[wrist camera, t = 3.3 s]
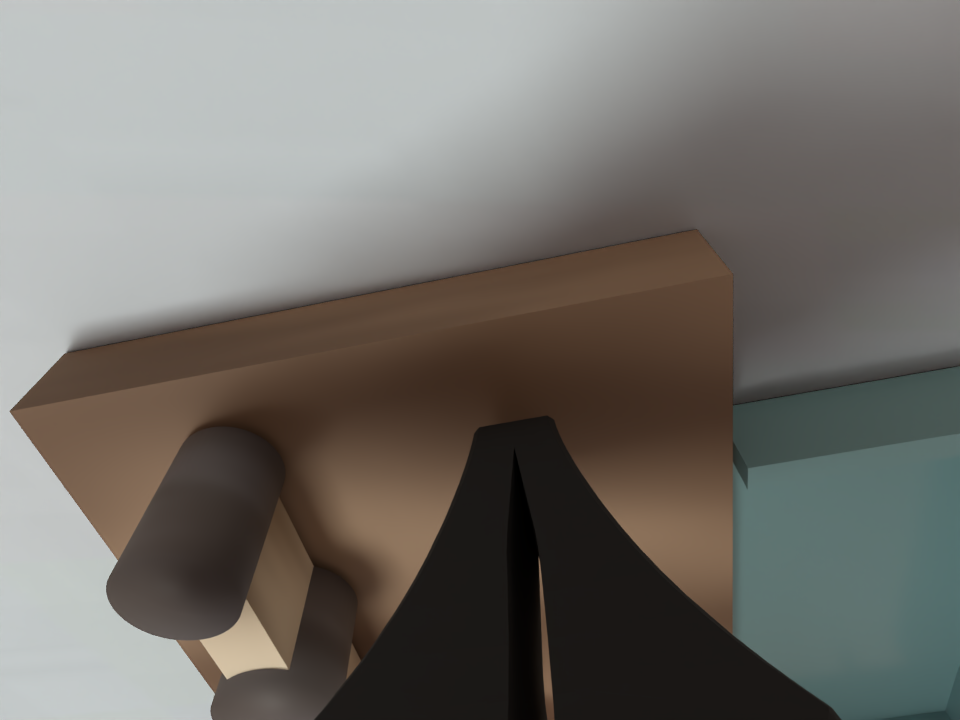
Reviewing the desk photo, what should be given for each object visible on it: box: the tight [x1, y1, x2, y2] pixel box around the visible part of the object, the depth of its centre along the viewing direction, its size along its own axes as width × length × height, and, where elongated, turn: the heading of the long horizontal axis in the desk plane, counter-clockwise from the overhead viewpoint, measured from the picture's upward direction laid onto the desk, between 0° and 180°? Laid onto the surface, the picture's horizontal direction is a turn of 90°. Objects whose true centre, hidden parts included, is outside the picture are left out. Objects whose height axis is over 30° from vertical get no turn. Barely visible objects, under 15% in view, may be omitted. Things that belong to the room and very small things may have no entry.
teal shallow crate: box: [733, 366, 960, 720], centre depth 17 cm, size 14×8×3 cm, turn 11°
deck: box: [10, 229, 733, 720], centre depth 17 cm, size 18×13×2 cm
